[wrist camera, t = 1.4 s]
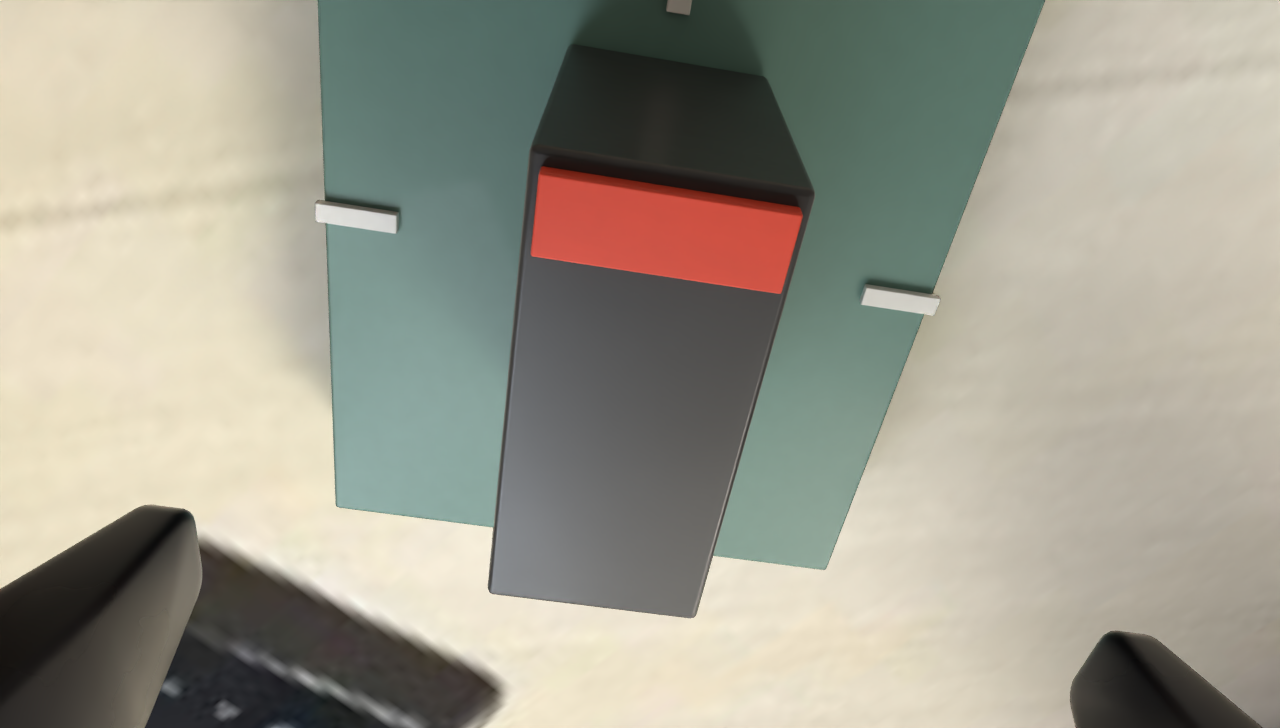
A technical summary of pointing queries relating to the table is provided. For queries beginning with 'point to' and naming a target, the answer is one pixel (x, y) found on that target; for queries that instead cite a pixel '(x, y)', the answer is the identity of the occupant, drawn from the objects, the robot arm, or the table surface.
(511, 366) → the block
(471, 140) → the green flat block
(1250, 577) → the table surface
